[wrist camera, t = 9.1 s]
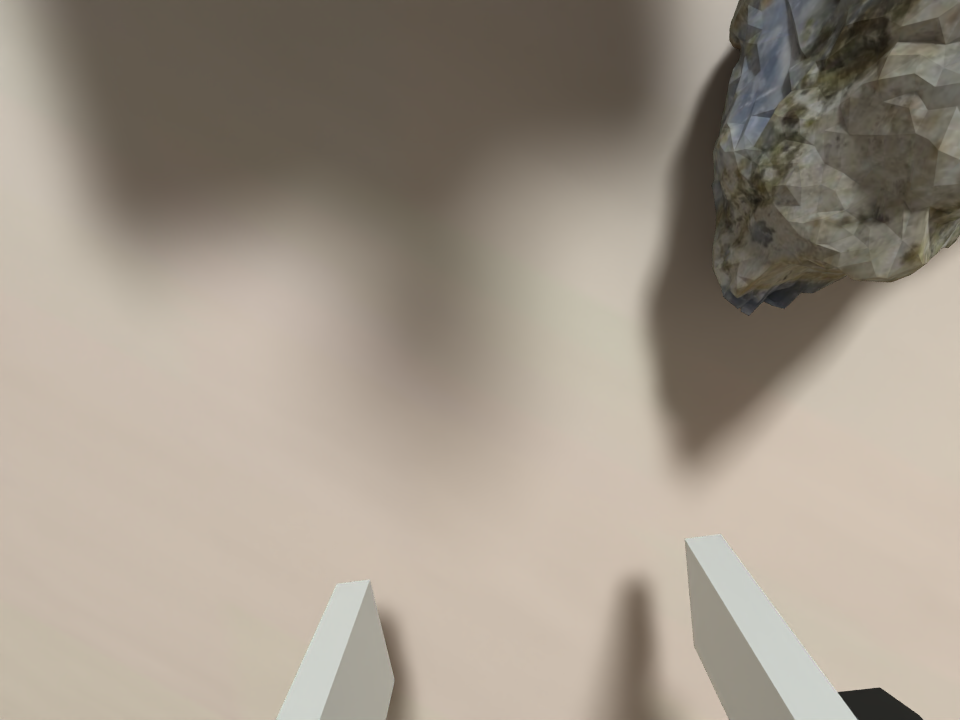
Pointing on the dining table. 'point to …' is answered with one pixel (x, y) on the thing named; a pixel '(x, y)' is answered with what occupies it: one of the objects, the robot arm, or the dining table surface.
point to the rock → (836, 145)
